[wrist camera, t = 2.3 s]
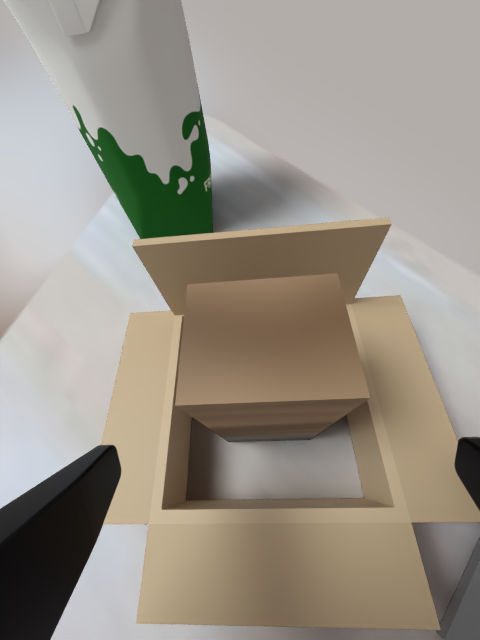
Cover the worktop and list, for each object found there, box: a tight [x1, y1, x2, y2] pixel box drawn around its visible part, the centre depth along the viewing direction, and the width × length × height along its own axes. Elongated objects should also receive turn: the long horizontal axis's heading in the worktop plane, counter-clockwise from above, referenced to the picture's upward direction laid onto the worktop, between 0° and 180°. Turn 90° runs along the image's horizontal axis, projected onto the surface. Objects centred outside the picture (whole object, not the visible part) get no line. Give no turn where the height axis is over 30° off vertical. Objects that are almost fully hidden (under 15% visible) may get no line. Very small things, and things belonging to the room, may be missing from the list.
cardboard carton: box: [101, 218, 480, 630], centre depth 12 cm, size 14×17×10 cm
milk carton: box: [4, 0, 213, 239], centre depth 19 cm, size 9×9×20 cm
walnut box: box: [175, 273, 370, 442], centre depth 12 cm, size 4×5×11 cm
